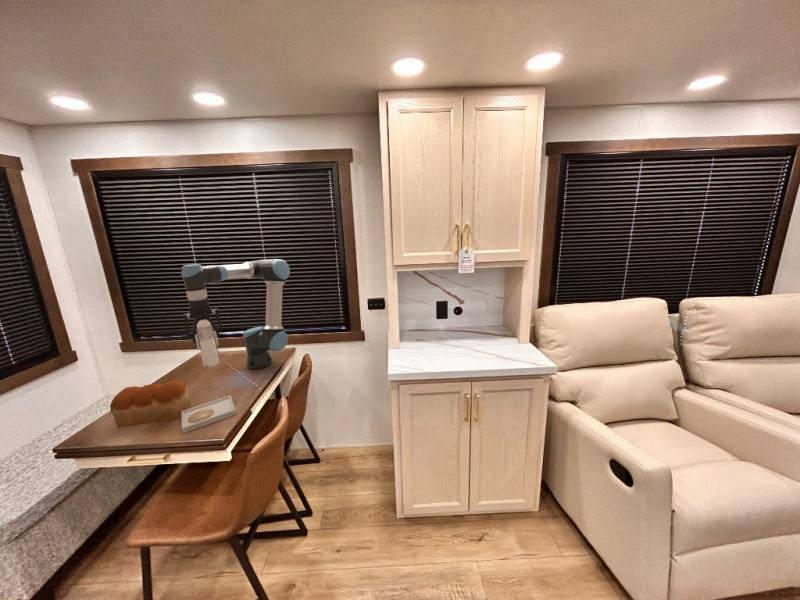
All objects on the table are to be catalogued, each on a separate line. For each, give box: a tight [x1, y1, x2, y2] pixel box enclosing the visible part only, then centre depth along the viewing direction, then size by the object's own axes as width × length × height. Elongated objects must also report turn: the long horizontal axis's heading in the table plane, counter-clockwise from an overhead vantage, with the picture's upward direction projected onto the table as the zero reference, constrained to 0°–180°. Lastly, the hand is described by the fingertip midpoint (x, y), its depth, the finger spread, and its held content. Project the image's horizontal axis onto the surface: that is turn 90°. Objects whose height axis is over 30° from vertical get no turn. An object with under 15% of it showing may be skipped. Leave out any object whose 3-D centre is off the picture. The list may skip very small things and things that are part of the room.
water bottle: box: [195, 318, 221, 368], centre depth 141 cm, size 7×7×25 cm
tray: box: [181, 395, 237, 434], centre depth 138 cm, size 20×16×2 cm
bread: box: [109, 380, 191, 428], centre depth 139 cm, size 25×12×15 cm, turn 101°
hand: (208, 346), depth 142 cm, fingers closed on water bottle, 7 cm apart
